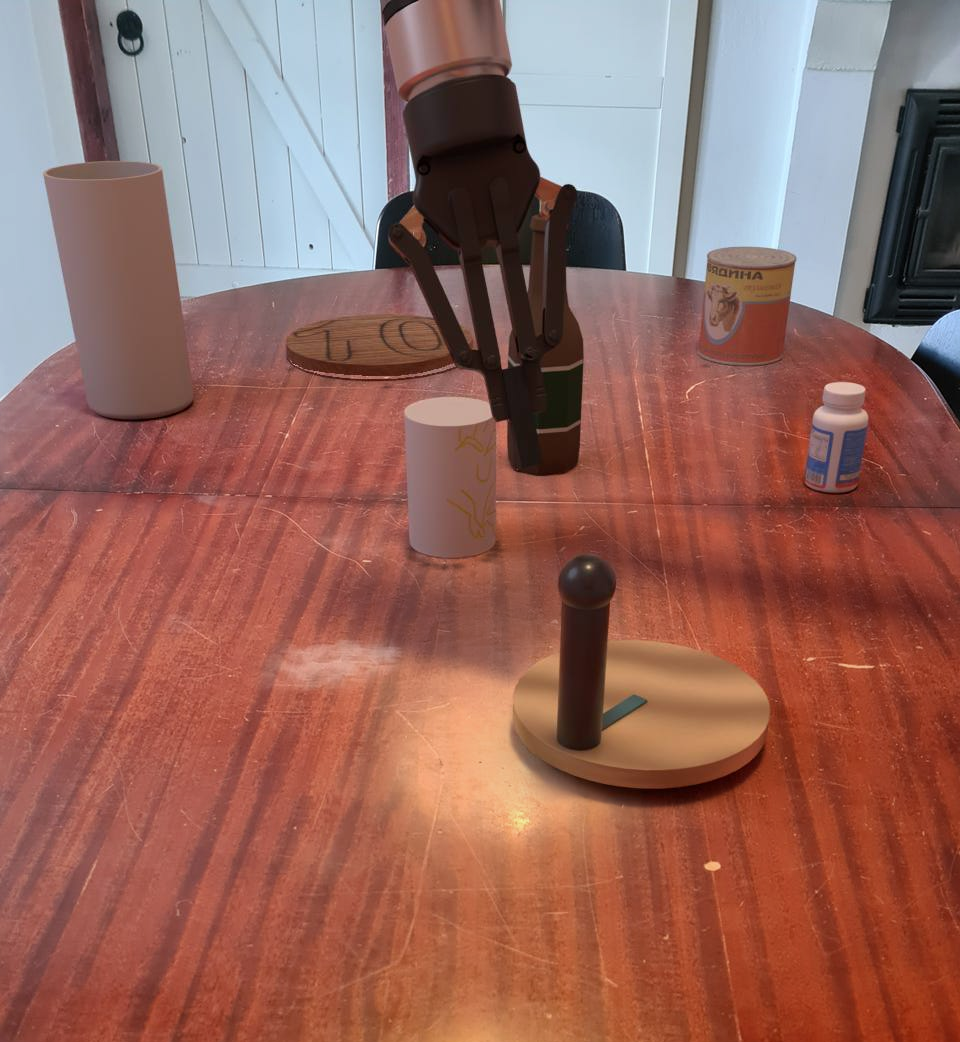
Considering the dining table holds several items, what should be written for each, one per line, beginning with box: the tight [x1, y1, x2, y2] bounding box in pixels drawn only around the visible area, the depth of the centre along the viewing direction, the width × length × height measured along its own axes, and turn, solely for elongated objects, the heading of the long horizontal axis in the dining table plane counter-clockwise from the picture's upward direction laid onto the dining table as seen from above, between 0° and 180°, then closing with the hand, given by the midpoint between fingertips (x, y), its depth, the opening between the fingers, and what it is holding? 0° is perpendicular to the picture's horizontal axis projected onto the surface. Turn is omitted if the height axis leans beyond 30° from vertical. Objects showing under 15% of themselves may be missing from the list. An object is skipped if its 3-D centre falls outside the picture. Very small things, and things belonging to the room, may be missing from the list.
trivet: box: [285, 313, 474, 381], centre depth 165 cm, size 25×25×2 cm
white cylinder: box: [403, 396, 497, 559], centre depth 112 cm, size 8×8×12 cm
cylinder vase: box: [42, 160, 195, 421], centre depth 141 cm, size 12×12×25 cm
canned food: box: [697, 246, 797, 367], centre depth 161 cm, size 11×11×12 cm
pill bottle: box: [804, 381, 869, 494], centre depth 124 cm, size 6×5×10 cm
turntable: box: [512, 553, 771, 789], centre depth 83 cm, size 18×18×14 cm
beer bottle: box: [506, 213, 585, 476], centre depth 125 cm, size 8×8×24 cm
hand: (530, 466), depth 86 cm, fingers closed
